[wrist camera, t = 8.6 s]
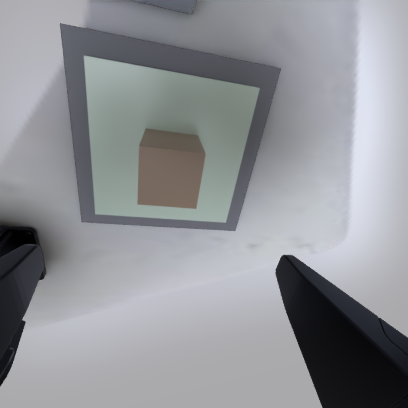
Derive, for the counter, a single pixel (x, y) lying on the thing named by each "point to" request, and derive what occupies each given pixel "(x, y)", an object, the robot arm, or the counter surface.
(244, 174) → the mat
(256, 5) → the counter surface
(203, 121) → the lid
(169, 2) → the dish
